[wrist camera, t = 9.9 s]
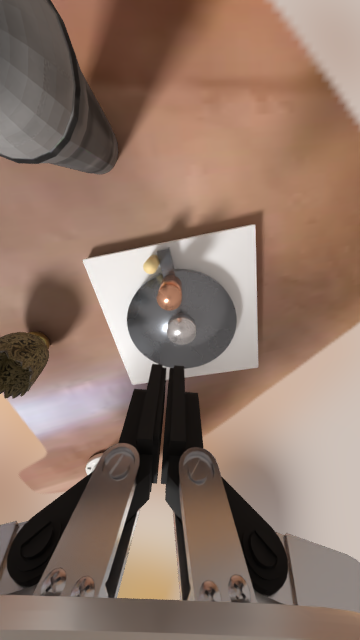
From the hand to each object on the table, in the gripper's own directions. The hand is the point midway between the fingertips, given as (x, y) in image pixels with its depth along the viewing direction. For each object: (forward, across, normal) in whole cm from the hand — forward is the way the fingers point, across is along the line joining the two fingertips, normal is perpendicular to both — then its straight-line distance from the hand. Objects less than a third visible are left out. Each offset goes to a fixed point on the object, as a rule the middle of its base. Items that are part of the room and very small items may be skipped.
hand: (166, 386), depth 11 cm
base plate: (+18, -1, +4) cm, 18 cm away
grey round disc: (+16, -1, +3) cm, 16 cm away
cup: (+18, +20, +10) cm, 29 cm away
